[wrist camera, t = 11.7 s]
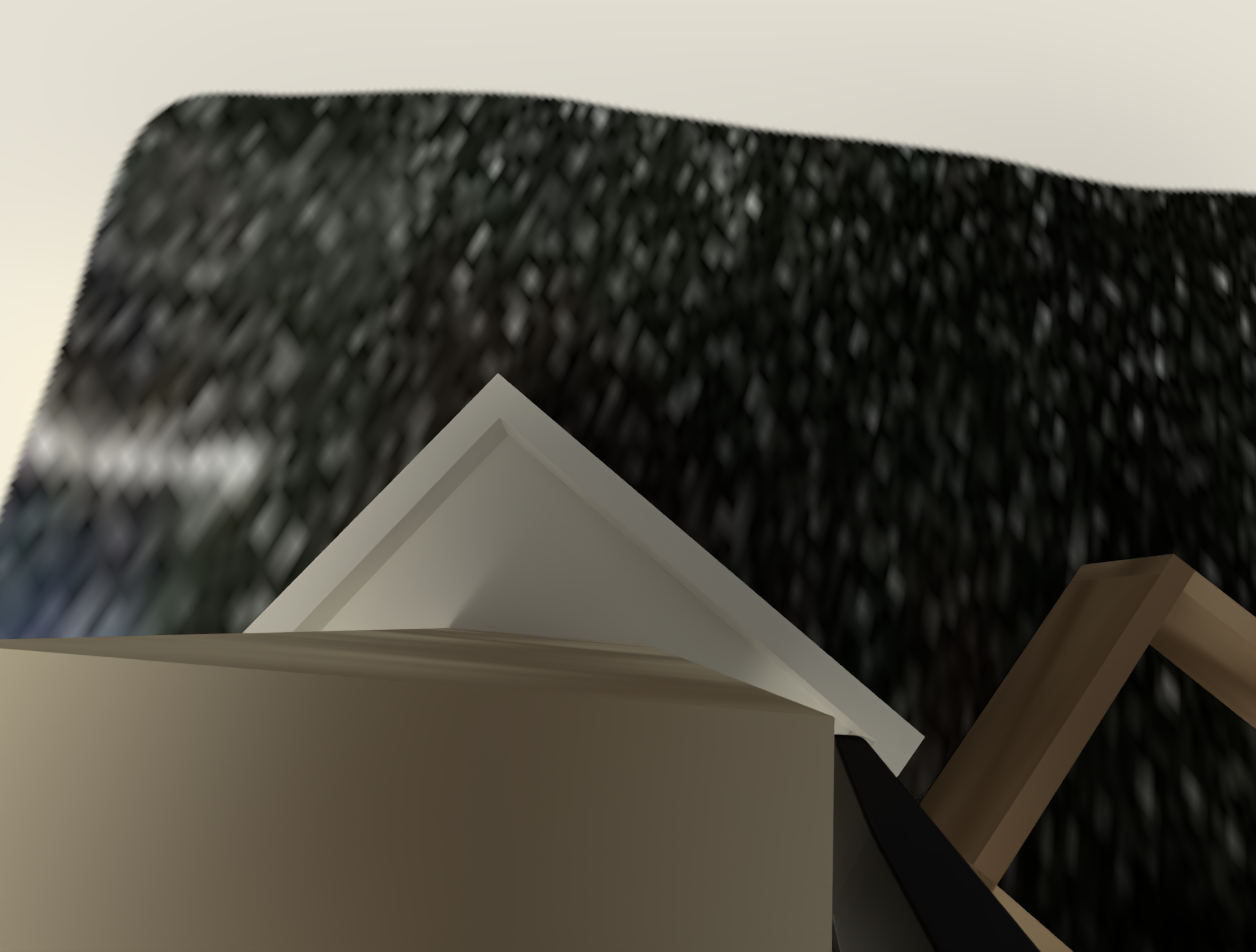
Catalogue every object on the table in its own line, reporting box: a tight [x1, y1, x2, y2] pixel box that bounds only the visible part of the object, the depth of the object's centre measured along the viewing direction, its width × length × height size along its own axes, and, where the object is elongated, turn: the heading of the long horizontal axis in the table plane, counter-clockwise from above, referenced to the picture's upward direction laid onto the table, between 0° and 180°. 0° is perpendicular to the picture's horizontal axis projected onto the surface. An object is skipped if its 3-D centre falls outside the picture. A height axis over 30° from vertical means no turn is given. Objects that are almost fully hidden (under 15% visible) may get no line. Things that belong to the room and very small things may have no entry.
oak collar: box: [919, 554, 1256, 952], centre depth 16 cm, size 9×9×3 cm
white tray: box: [243, 374, 925, 777], centre depth 15 cm, size 13×12×2 cm
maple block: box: [0, 628, 835, 952], centre depth 9 cm, size 5×5×13 cm
